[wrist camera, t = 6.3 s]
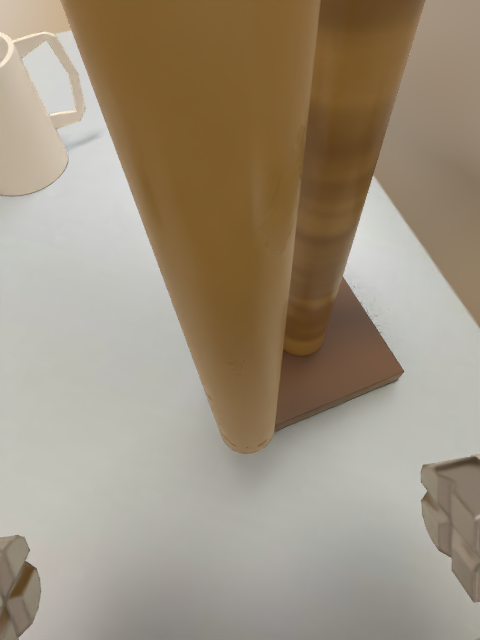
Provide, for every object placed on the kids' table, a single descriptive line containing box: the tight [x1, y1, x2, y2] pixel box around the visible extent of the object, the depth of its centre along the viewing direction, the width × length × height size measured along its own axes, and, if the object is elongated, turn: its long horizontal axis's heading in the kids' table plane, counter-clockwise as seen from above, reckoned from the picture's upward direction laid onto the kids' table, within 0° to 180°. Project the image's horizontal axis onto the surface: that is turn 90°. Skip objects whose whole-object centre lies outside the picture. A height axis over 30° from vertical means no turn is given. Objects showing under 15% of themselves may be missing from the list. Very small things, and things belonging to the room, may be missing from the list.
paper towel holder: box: [274, 0, 425, 432], centre depth 18 cm, size 10×10×26 cm
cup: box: [0, 31, 85, 196], centre depth 36 cm, size 8×12×10 cm
